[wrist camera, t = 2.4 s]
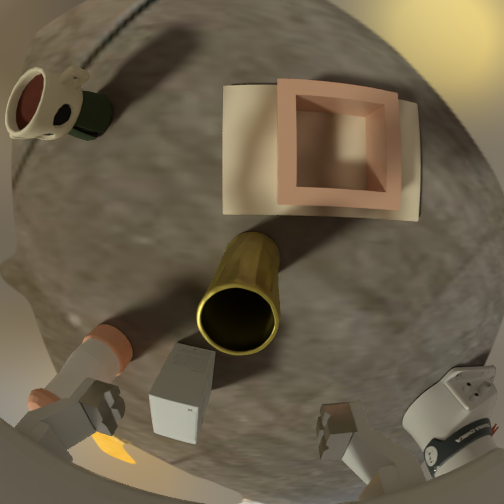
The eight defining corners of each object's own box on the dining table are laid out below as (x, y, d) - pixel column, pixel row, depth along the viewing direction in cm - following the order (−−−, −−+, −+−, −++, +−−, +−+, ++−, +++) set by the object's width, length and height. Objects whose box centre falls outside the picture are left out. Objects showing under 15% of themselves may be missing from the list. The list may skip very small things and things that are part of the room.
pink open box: (376, 106, 24) (397, 93, 18) (377, 204, 27) (399, 210, 21) (276, 97, 25) (277, 78, 19) (276, 200, 27) (277, 204, 22)
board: (413, 105, 24) (417, 103, 23) (414, 220, 28) (418, 221, 27) (225, 88, 25) (223, 86, 25) (224, 213, 29) (222, 214, 28)
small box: (176, 340, 34) (147, 392, 24) (217, 350, 34) (199, 406, 23) (175, 382, 36) (152, 433, 26) (211, 391, 36) (196, 445, 25)
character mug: (75, 162, 28) (1, 164, 16) (62, 122, 27) (-7, 112, 15) (137, 114, 27) (67, 86, 14) (120, 73, 25) (57, 37, 13)
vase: (287, 240, 29) (300, 292, 16) (270, 290, 31) (269, 370, 17) (232, 224, 29) (199, 263, 16) (219, 276, 31) (182, 346, 17)
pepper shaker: (130, 371, 36) (72, 460, 18) (92, 350, 36) (25, 426, 17) (135, 337, 34) (62, 433, 16) (94, 315, 34) (10, 392, 15)
